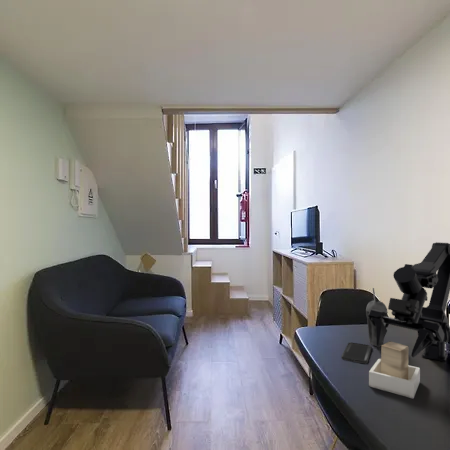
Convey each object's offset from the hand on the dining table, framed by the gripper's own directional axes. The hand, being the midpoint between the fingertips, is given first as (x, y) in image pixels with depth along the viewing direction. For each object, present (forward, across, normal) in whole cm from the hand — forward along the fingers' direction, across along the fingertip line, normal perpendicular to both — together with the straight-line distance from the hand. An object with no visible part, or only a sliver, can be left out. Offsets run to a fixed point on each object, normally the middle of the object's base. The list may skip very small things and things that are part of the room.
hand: (394, 351), depth 93 cm
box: (+6, 0, +7) cm, 9 cm away
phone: (-2, -18, +16) cm, 24 cm away
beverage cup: (-12, -18, +25) cm, 33 cm away
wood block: (+6, 0, +6) cm, 9 cm away
